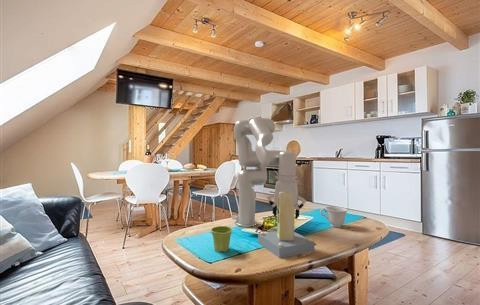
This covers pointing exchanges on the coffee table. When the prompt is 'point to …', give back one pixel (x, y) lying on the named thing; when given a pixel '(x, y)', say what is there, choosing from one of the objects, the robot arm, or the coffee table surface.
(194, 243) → the coffee table surface
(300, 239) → the base block
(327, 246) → the coffee table surface
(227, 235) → the plant pot
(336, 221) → the teacup
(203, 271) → the coffee table surface
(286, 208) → the cream tall block
